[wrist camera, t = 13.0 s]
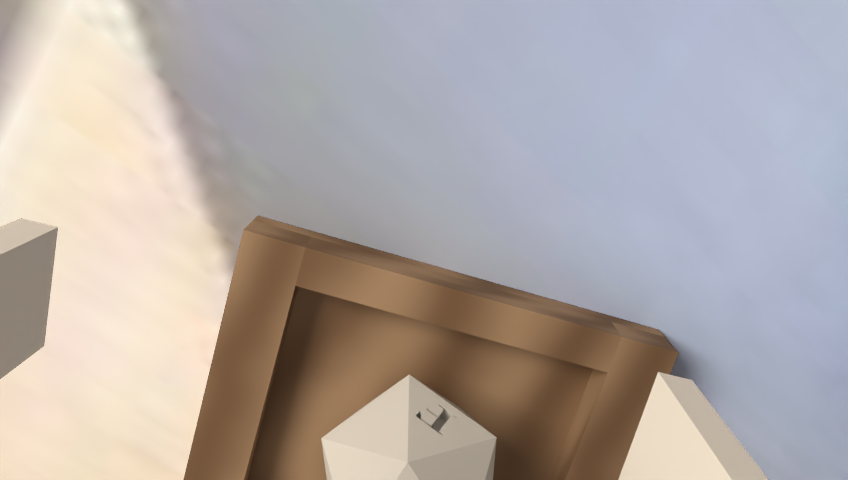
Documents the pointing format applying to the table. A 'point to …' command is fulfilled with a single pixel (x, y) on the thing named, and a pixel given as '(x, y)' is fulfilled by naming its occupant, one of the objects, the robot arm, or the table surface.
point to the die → (409, 439)
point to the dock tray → (411, 362)
